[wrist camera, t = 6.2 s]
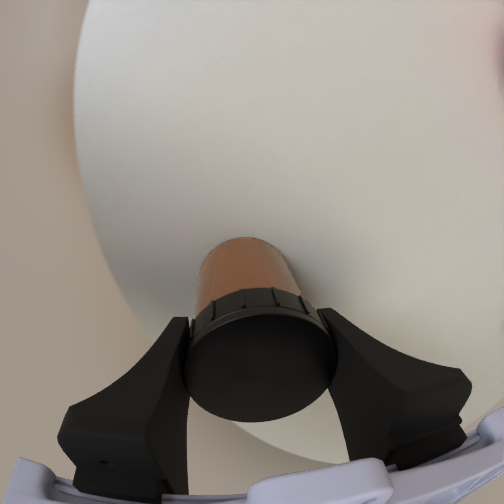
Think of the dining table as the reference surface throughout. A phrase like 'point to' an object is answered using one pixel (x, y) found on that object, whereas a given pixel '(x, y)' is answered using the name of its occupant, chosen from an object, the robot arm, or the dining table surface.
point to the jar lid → (258, 355)
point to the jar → (242, 270)
